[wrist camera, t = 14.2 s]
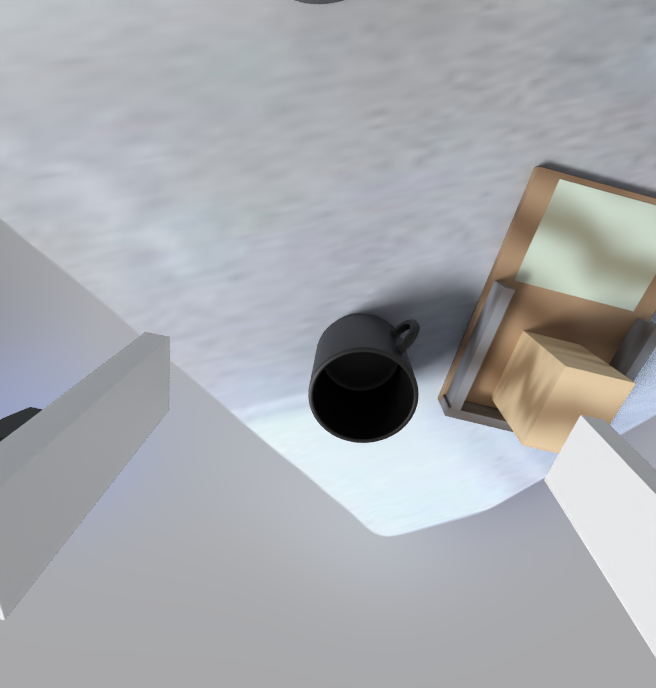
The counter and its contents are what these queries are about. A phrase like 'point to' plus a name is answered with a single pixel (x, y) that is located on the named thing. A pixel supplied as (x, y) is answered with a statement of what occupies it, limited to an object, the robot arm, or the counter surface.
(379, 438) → the mug
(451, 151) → the counter surface
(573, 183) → the slot board
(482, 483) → the counter surface
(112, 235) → the counter surface
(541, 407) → the oak block
